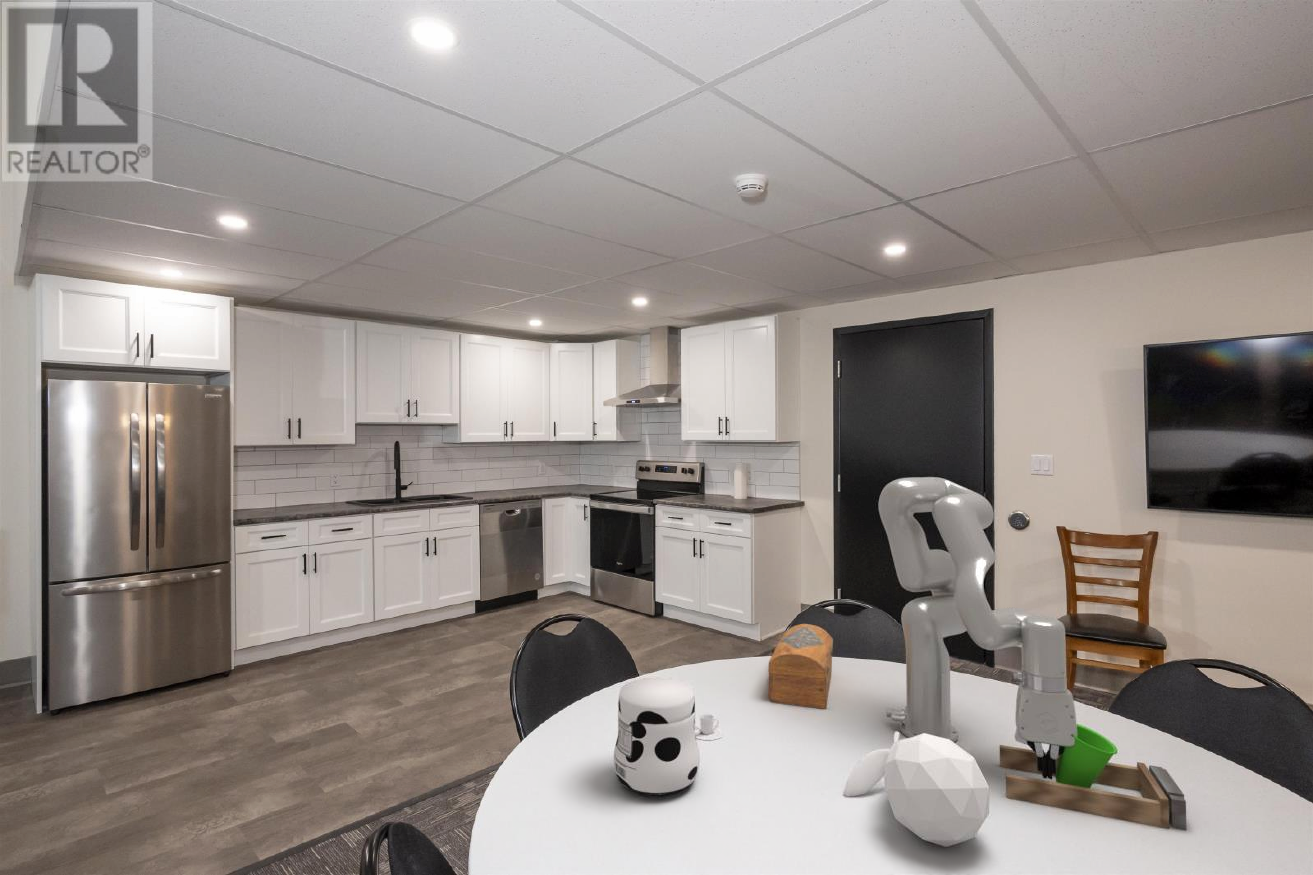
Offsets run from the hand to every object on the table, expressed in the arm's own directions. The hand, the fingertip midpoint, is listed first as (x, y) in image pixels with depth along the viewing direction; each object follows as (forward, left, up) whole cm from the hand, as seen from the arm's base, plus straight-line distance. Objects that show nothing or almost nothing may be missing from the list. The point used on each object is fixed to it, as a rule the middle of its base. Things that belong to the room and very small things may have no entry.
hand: (1046, 775), depth 126 cm
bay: (+6, 0, -3) cm, 7 cm away
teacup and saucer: (-72, -1, -3) cm, 72 cm away
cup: (+4, +1, -2) cm, 4 cm away
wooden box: (-55, +36, -3) cm, 66 cm away
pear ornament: (-24, -21, -3) cm, 32 cm away
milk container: (-72, -28, -3) cm, 77 cm away
